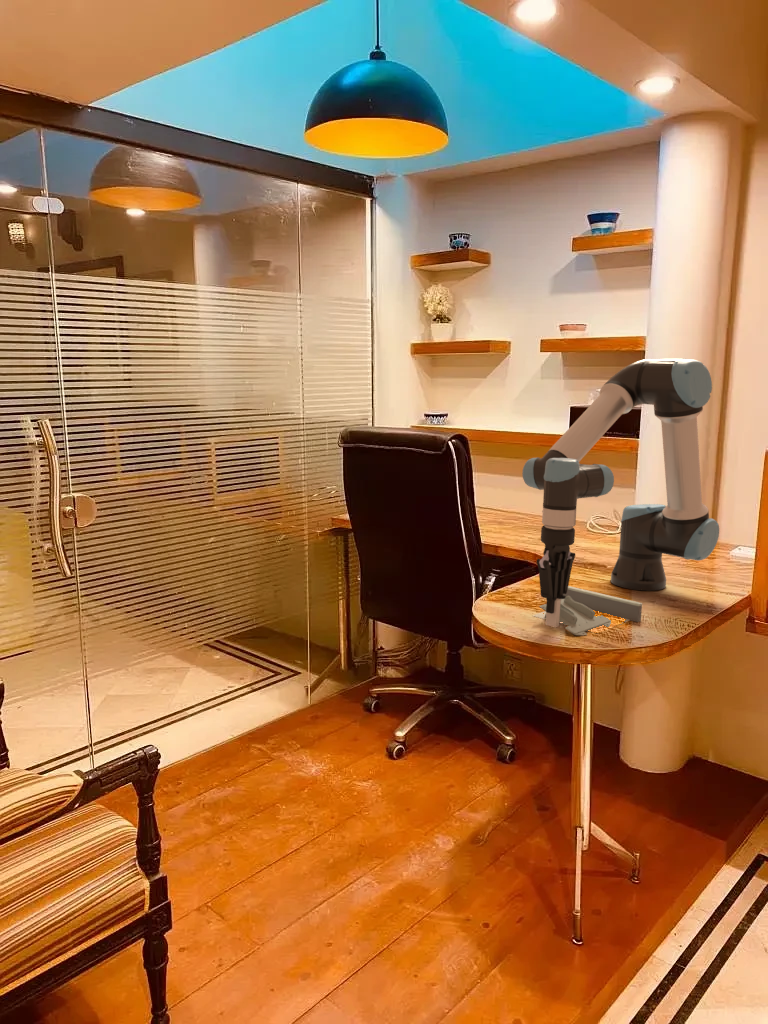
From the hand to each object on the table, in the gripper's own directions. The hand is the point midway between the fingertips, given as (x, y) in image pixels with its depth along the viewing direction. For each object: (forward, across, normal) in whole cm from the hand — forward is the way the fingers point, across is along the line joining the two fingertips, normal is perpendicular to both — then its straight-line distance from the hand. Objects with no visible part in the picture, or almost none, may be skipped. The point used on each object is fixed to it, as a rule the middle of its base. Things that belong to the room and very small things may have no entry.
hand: (552, 625), depth 182 cm
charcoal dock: (+1, -14, 0) cm, 14 cm away
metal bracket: (+1, -7, +1) cm, 7 cm away
